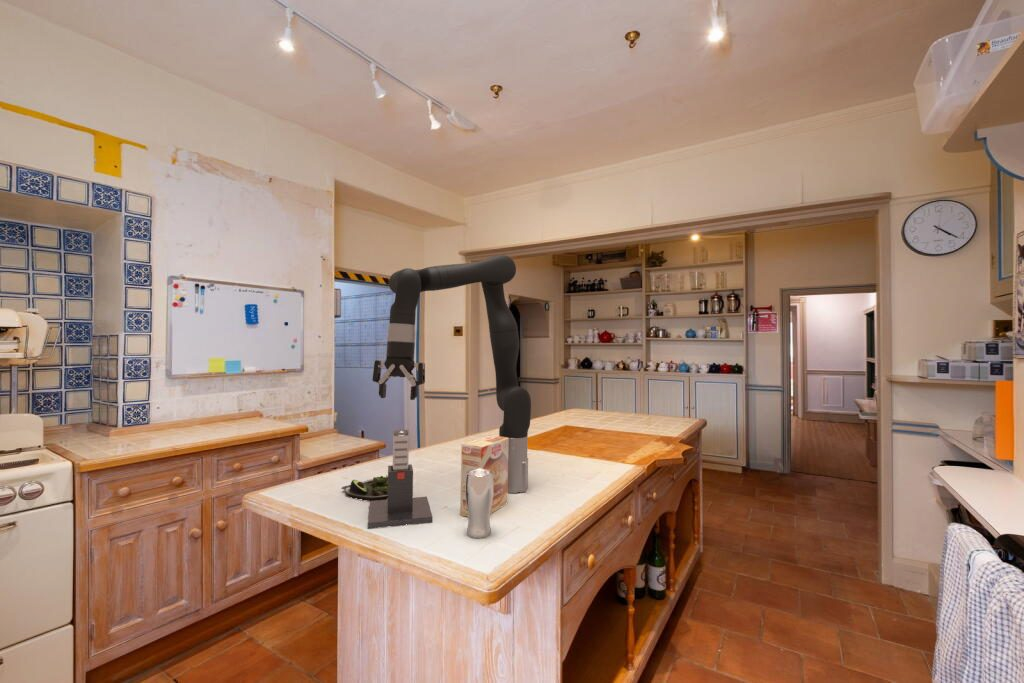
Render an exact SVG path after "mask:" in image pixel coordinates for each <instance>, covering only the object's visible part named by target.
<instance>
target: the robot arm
mask: <svg viewBox="0 0 1024 683" xmlns="http://www.w3.org/2000/svg"><path fill="white" fill-rule="evenodd" d="M516 272H517V267H516V263H515V261H514V260H513V259H512V257H510V256H508V255H505V254H496V255H493V256H491V257H488V258H485V259H483V260H478V261H472V262H466V263H464V262H463V263H454V264H453V263H451V264H443V265H433V266H428V267H425V268H422V269H421V268H420V269H413V268H411V267H410V268H402V269H400V270H397V271H395V272H393V273H392V274H391V276H390V277H389V280H388V287H389V289H390V291H392V293H394V294H395V298H394V302H393V303H392V304H391V306H390V309H389V321H388V322H389V324H388V330H387V336H386V354H385V355H386V358H385V361H384V360H380V359H378V360H374V364H373V372H372V382H375V383H377V384H378V396H380V399H386V397H387V396H386V395H387V382H388V381H389V380H390V379H391V378H392V377H393V378H396V377H399V378H406V379H407V381H408V382H409V383H410V384H411V386H410V395H409V396H410V399H409V400H411V401H413V400H415V399H416V398H417V397H418V391H419V390H418V389H419V386H420V385H424V384H425V383H426V364H425V362H415V345H416V315H417V314H416V313H417V312H416V311H417V306H418V302H419V299H420V295H421V293H424V292H430V291H432V292H434V291H435V292H436V291H441V290H448V289H454V288H458V287H462V286H467V285H472V284H476V283H481V287H482V291H483V297H484V301H485V309H486V315H487V316H486V317H487V321H488V322H487V323H488V333H489V338H490V339H489V340H490V346H491V352H492V357H493V364H494V365H493V366H494V372H495V373H494V374H495V394H496V395H495V397H496V403H497V406H498V409H500V410H501V411H503V420H502V424H501V425H500V426H499V430H498V431H499V432H498V433H499V434H498V435H499V436H501V437H507V438H509V448H508V494H519V493H518V492H520V493H526V492H527V489H528V488H529V457H528V437H529V434H528V432H529V429H530V426H531V411H532V402H531V401H532V400H531V395H530V393H529V391H528V390H527V389H525V388H524V387H523V386H522V387H521V386H519V385H520V384H519V381H518V375H517V362H518V357H519V351H520V337H519V330H518V329H519V328H518V323H517V321H516V318H515V317H514V314H513V313H512V311H511V310H510V307H509V305H508V304H507V300H506V297H505V296H506V295H505V289H504V285H505V284H507V283H509V282H511V281H512V280H513V279H514V278H515V276H516V274H517V273H516ZM384 367H385V369H386V371H385V372H384V374H383V375H382V376H381V374H382V369H383V368H384ZM414 369H415V370H416V371H417V378H416V376H415V374H414V373H413V370H414ZM527 487H528V488H527Z"/></svg>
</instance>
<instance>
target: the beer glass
mask: <svg viewBox="0 0 1024 683" xmlns="http://www.w3.org/2000/svg"><path fill="white" fill-rule="evenodd" d="M493 492H494V483H493V472H492V471H491V470H488V469H472V470H469V471H467V474H466V486H465V495H466V504H467V510H468V517H467V518H468V520H467V528H466V535H467V536H468V537H469V538H473V539H485V538H488V537H489V536H491V534H492V527H491V522H490V521H491V514H490V512H491V507H492V501H493Z"/></svg>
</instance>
